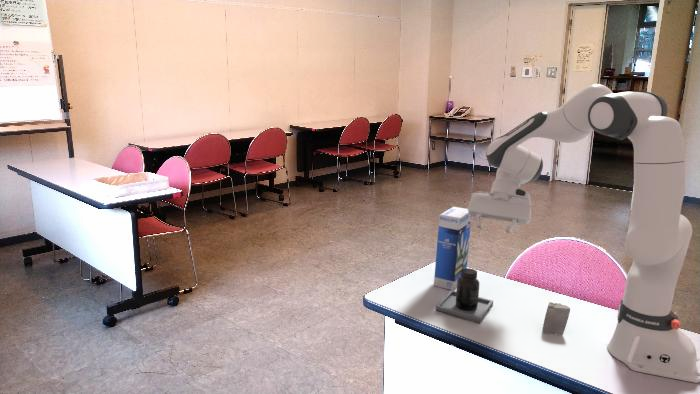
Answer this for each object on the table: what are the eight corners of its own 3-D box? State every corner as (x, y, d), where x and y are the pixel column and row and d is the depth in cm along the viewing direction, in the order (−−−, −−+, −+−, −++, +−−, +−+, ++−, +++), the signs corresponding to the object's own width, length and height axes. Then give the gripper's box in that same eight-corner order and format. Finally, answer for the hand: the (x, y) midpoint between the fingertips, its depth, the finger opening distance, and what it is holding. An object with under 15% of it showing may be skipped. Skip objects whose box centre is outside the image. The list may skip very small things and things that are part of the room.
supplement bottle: (475, 302, 167) (479, 267, 164) (478, 312, 160) (482, 276, 157) (453, 301, 168) (457, 266, 165) (456, 310, 161) (459, 274, 158)
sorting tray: (492, 305, 167) (493, 300, 167) (479, 323, 155) (480, 318, 155) (450, 295, 174) (451, 290, 173) (435, 311, 162) (435, 306, 161)
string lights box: (453, 291, 177) (459, 218, 170) (432, 285, 180) (437, 214, 174) (466, 278, 188) (473, 209, 181) (446, 273, 191) (452, 205, 185)
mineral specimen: (575, 334, 150) (573, 309, 148) (544, 338, 151) (542, 313, 148) (566, 320, 157) (564, 296, 155) (536, 324, 158) (534, 301, 156)
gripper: (471, 185, 177) (460, 219, 172) (534, 193, 168) (524, 230, 162) (474, 195, 182) (463, 229, 176) (535, 203, 172) (526, 240, 166)
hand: (493, 229), depth 169 cm, fingers open, 8 cm apart
